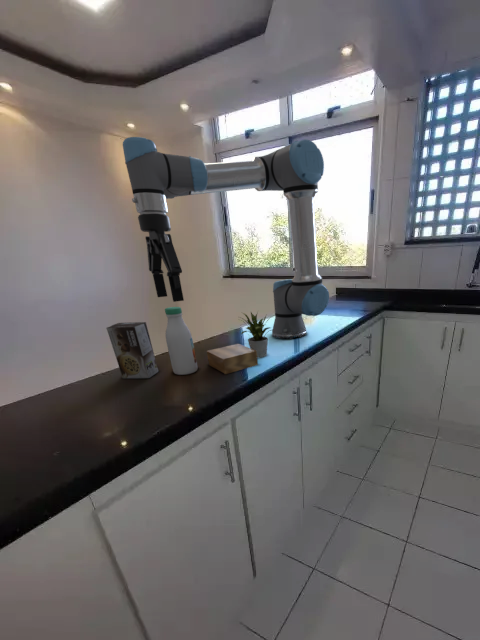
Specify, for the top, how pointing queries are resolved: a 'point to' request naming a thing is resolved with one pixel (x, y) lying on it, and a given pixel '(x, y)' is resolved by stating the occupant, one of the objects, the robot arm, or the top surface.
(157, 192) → the robot arm
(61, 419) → the top surface
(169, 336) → the milk bottle
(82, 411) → the top surface
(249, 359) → the oak block
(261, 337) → the house plant
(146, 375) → the food box
